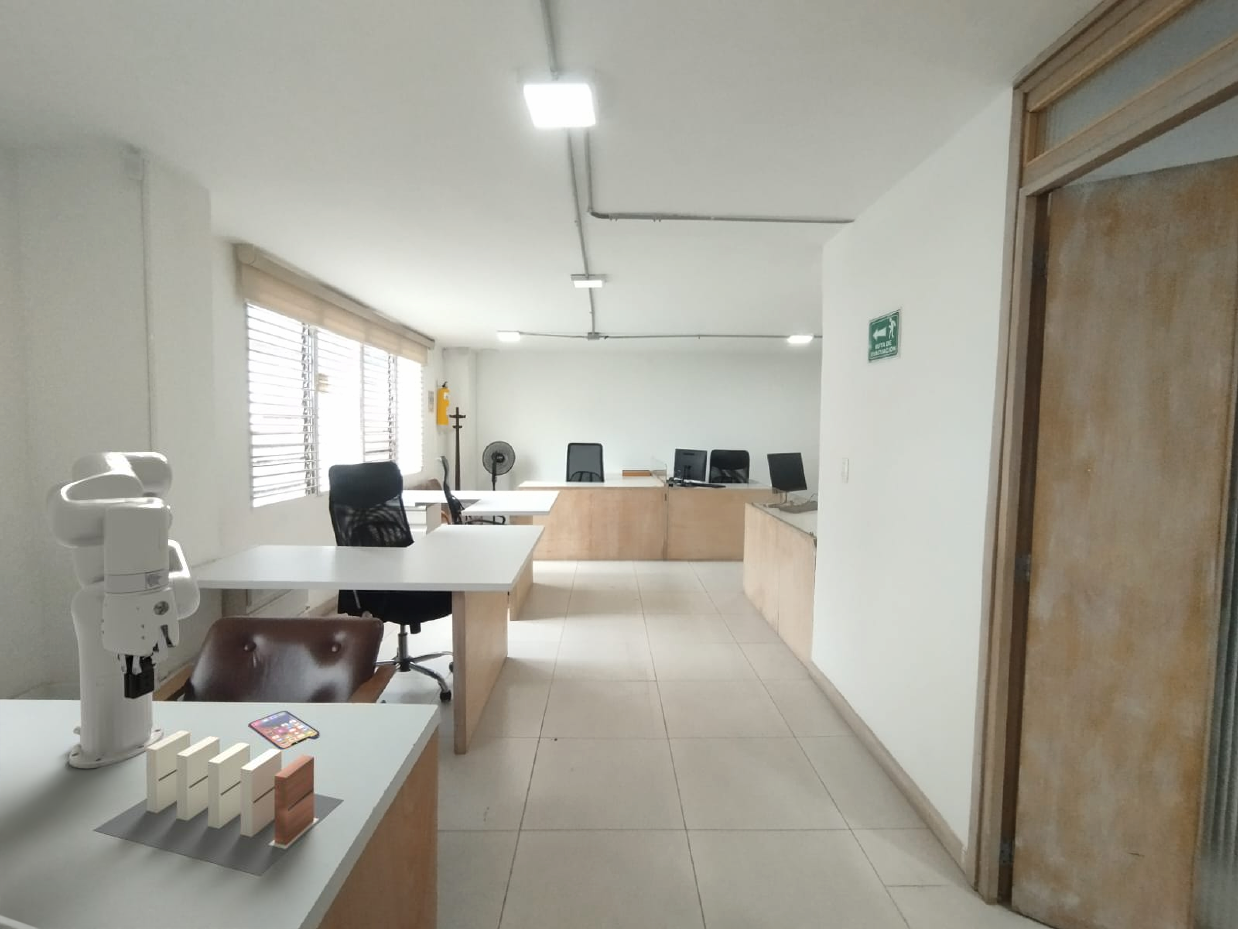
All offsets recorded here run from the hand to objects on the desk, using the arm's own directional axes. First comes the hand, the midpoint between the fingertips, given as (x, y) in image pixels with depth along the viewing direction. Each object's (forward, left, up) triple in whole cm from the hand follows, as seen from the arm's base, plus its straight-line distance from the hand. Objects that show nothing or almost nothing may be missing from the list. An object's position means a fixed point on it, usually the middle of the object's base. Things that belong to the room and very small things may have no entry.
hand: (139, 694), depth 83 cm
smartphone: (+5, +22, -18) cm, 28 cm away
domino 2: (+12, 0, -17) cm, 20 cm away
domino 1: (+6, 0, -17) cm, 18 cm away
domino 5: (+30, 0, -17) cm, 34 cm away
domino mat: (+17, 0, -17) cm, 24 cm away
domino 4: (+24, 0, -17) cm, 29 cm away
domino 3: (+18, 0, -17) cm, 24 cm away
